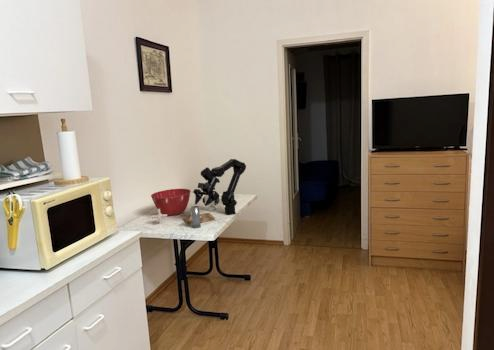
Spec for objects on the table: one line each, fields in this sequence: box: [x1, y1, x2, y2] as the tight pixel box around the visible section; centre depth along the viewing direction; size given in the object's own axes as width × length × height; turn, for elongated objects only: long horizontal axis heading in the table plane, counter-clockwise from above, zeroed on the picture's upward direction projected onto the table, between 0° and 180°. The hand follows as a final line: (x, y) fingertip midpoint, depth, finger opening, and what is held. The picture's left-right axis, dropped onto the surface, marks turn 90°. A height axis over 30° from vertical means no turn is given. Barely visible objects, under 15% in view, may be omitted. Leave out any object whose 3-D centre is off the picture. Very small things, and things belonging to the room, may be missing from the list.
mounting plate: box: [183, 212, 216, 225], centre depth 253 cm, size 18×14×2 cm
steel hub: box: [190, 205, 202, 229], centre depth 236 cm, size 5×5×13 cm
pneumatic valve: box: [201, 195, 221, 212], centre depth 274 cm, size 6×12×12 cm, turn 70°
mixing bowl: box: [150, 188, 191, 217], centre depth 274 cm, size 28×28×15 cm
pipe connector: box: [151, 208, 168, 225], centre depth 250 cm, size 10×10×10 cm
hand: (200, 205), depth 239 cm, fingers open, 9 cm apart
